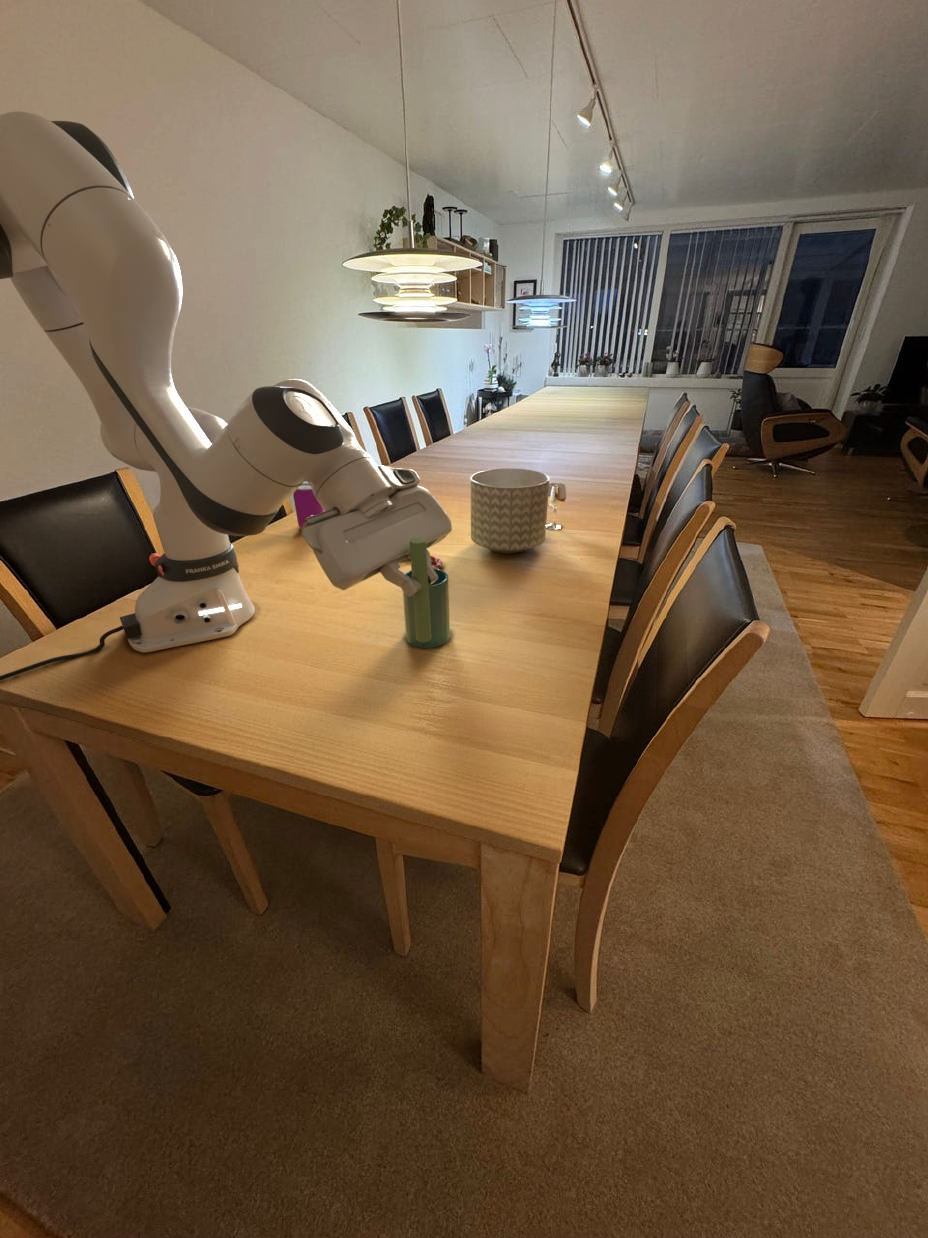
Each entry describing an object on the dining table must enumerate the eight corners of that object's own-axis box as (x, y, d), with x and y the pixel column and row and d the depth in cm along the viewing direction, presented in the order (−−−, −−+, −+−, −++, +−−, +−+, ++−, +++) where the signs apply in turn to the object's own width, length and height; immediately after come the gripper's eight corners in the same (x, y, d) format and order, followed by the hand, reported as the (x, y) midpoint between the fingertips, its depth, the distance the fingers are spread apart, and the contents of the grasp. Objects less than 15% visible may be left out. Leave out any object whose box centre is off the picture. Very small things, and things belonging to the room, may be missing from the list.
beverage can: (316, 532, 144) (310, 490, 139) (293, 530, 147) (286, 488, 141) (331, 524, 151) (325, 483, 145) (308, 521, 153) (302, 481, 147)
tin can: (420, 653, 90) (416, 591, 84) (398, 634, 95) (393, 574, 90) (458, 639, 94) (457, 579, 88) (434, 621, 99) (432, 564, 94)
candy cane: (394, 549, 129) (448, 557, 124) (395, 554, 130) (448, 562, 125) (378, 560, 123) (434, 570, 118) (378, 565, 124) (434, 575, 119)
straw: (421, 644, 68) (414, 544, 61) (413, 637, 69) (406, 539, 62) (434, 639, 69) (429, 540, 62) (426, 633, 70) (420, 536, 63)
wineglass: (557, 522, 150) (561, 481, 144) (567, 528, 146) (571, 486, 140) (539, 524, 149) (542, 483, 143) (548, 531, 144) (552, 488, 138)
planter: (481, 532, 143) (481, 466, 135) (549, 538, 139) (554, 470, 130) (461, 557, 128) (460, 484, 119) (537, 565, 123) (542, 490, 114)
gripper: (303, 506, 55) (379, 609, 55) (422, 467, 70) (482, 549, 70) (284, 537, 60) (354, 633, 60) (400, 494, 74) (456, 572, 74)
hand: (424, 587), depth 65 cm, fingers closed on straw, 2 cm apart
